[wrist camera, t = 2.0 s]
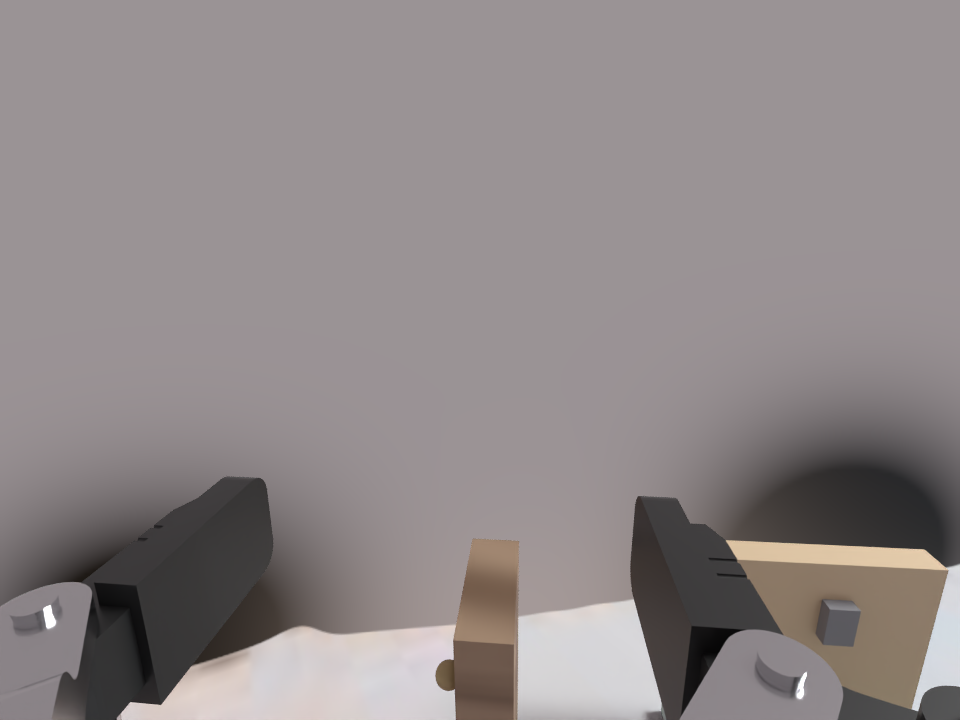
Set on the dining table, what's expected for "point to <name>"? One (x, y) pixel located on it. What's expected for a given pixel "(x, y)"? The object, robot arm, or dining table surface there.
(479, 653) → the door panel
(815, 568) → the cabinet frame
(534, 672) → the dining table surface
